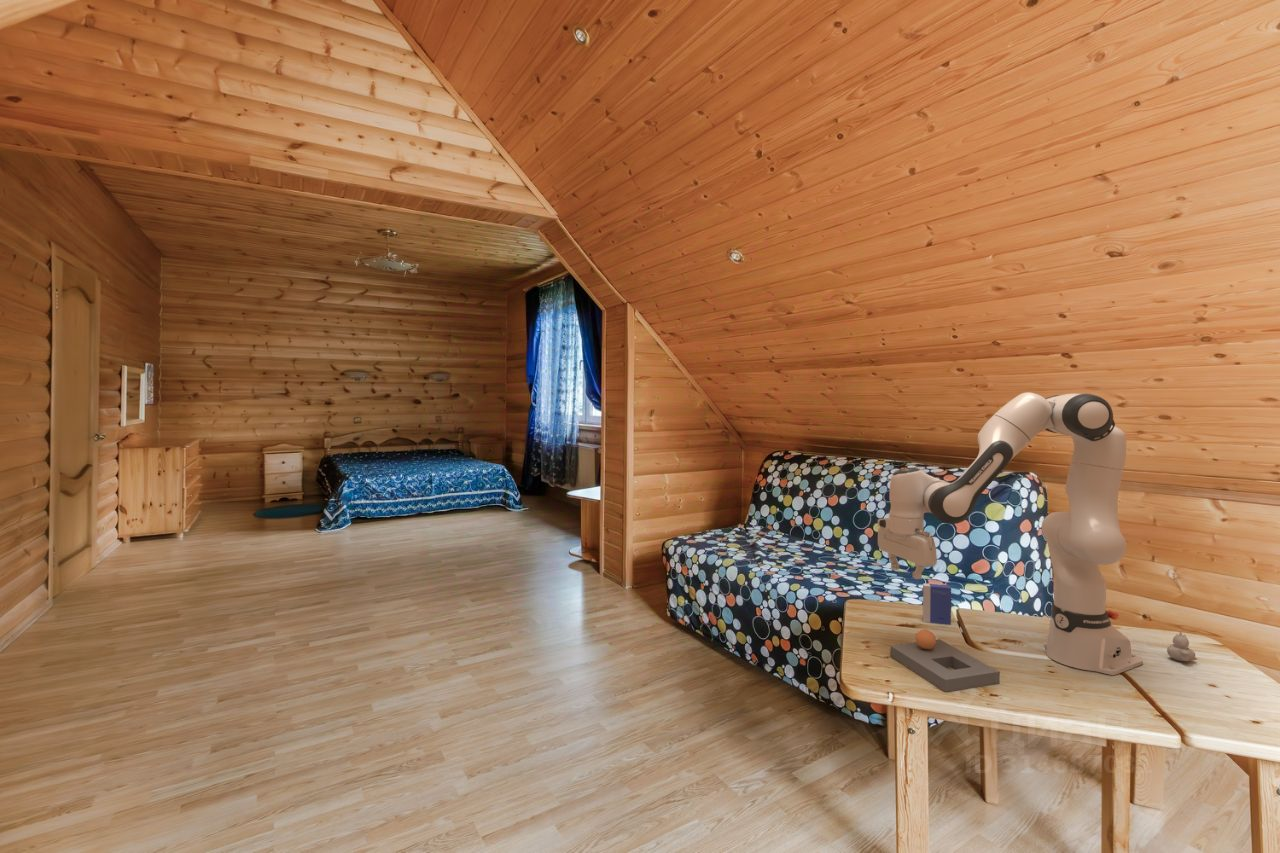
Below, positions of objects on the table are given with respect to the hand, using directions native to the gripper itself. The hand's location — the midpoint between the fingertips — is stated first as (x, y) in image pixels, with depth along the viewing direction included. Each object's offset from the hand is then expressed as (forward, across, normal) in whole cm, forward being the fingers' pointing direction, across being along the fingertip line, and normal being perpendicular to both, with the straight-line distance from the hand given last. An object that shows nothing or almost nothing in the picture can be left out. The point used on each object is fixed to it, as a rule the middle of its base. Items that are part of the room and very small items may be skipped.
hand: (905, 573), depth 163 cm
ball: (+16, -8, 0) cm, 18 cm away
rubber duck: (+21, -27, -64) cm, 73 cm away
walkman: (+21, +13, -22) cm, 33 cm away
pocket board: (+21, -14, 0) cm, 25 cm away
